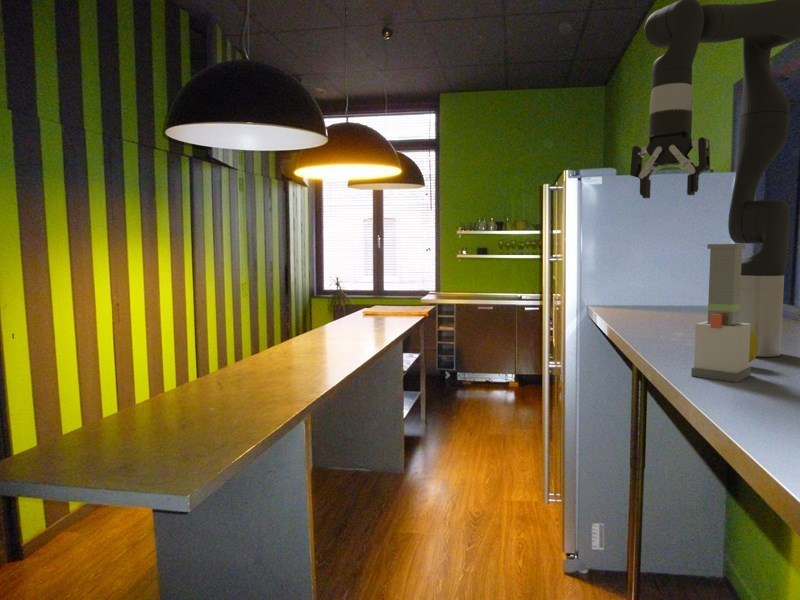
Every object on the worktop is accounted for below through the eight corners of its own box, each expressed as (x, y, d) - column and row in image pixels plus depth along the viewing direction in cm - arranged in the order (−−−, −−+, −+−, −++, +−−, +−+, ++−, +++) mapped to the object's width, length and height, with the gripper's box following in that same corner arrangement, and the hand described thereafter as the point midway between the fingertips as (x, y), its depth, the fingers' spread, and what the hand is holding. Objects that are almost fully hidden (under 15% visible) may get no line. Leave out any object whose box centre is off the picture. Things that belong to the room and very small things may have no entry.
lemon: (755, 370, 113) (757, 328, 113) (722, 367, 117) (724, 326, 116) (759, 366, 118) (761, 325, 117) (727, 362, 121) (729, 323, 120)
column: (712, 335, 112) (716, 244, 110) (741, 337, 108) (745, 244, 107) (703, 337, 108) (707, 244, 107) (733, 340, 105) (737, 243, 103)
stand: (706, 369, 114) (708, 309, 113) (750, 375, 109) (753, 312, 108) (690, 376, 108) (693, 313, 107) (736, 382, 103) (739, 316, 102)
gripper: (716, 108, 114) (713, 195, 115) (642, 120, 124) (639, 200, 125) (703, 102, 108) (699, 193, 110) (626, 114, 118) (623, 198, 120)
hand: (667, 196), depth 117 cm, fingers open, 8 cm apart
